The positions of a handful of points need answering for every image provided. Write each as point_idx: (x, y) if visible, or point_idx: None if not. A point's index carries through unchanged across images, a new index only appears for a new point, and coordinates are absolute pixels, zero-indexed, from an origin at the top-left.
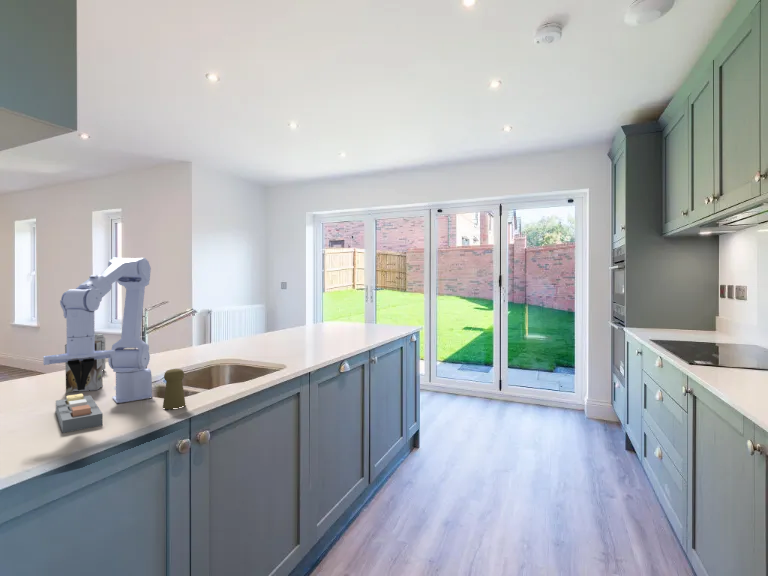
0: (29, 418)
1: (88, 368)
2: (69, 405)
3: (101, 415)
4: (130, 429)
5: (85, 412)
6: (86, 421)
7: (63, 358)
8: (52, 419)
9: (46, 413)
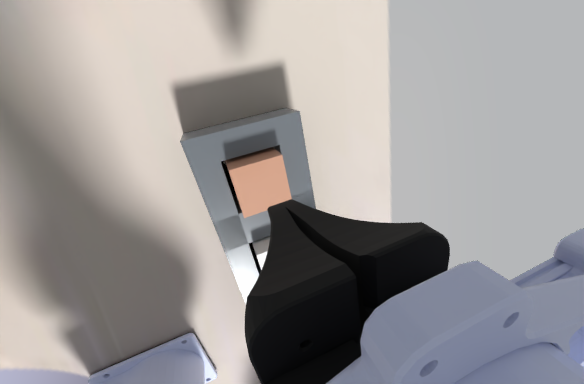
0: None
1: (283, 267)
2: None
3: (184, 139)
4: (35, 8)
5: (242, 161)
6: (230, 125)
7: (569, 283)
8: None
9: None
